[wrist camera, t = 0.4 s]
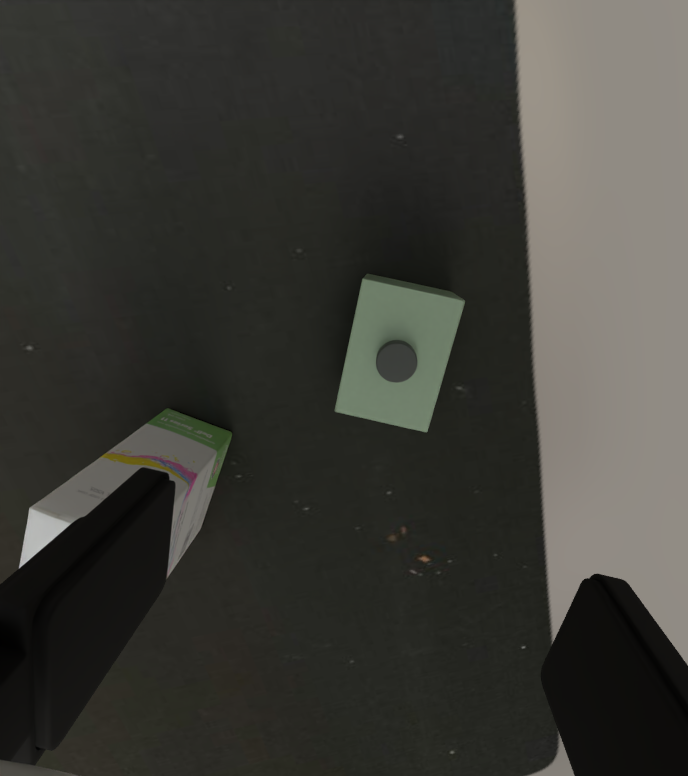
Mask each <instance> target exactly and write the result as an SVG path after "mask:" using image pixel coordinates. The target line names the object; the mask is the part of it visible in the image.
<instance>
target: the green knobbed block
mask: <svg viewBox="0 0 688 776" xmlns="http://www.w3.org/2000/svg"><path fill="white" fill-rule="evenodd" d="M464 304H465V300H463V299H462V298H460V297H459V296H457V295H456V294H454V293H453V292H451V291H446V290H441V289H437V288H432V287H428V286H423V285H418V284H414V283H409V282H405V281H400V280H395V279H391V278H386V277H382V276H377V275H372V274H366V275H365V277H364V278H363V279H362V283H361V288H360V292H359V297H358V302H357V306H356V311H355V316H354V321H353V325H352V330H351V335H350V340H349V344H348V349H347V354H346V359H345V363H344V368H343V373H342V377H341V382H340V387H339V392H338V396H337V401H336V406H335V412H338V413H343V414H347V415H352V416H356V417H361V418H365V419H369V420H374V421H378V422H383V423H387V424H391V425H396V426H400V427H405V428H409V429H413V430H418V431H422V432H427V431H428V428H429V424H430V421H431V418H432V414H433V411H434V407H435V404H436V400H437V397H438V393H439V390H440V386H441V383H442V380H443V376H444V373H445V369H446V366H447V362H448V359H449V355H450V352H451V349H452V345H453V342H454V338H455V335H456V331H457V328H458V324H459V321H460V317H461V314H462V311H463V307H464Z"/></svg>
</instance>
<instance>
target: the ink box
mask: <svg viewBox="0 0 688 776" xmlns="http://www.w3.org/2000/svg"><path fill="white" fill-rule="evenodd" d="M231 437H232V432H230V431H228V430H225V429H222V428H219V427H217V426H214V425H211V424H208V423H206V422H203V421H200V420H197V419H195V418H192V417H190V416H187V415H184V414H182V413H179V412H177V411H174V410H171V409H169V408H167V409H165V410H164V411H163V412H161V413H160V414H159V415H157V416H156V417H155V418H153V419H152V420H150V421H149V422H148V423H146V424H145V425H144V426H142V427H141V428H139V429H138V430H137V431H135V432H134V433H133V434H131V435H130V436H129V437H127V438H126V439H125V440H123V441H122V442H121V443H119V444H118V445H116V446H115V447H114V448H112V449H111V450H110V451H108V452H107V453H105V454H104V455H103V456H101V457H100V458H99V459H97V460H96V461H95V462H93V463H92V464H90V465H89V466H88V467H86V468H85V469H83V470H82V471H80V472H79V473H78V474H76V475H75V476H74V477H72V478H71V479H69V480H68V481H67V482H65V483H64V484H63V485H61V486H60V487H58V488H57V489H56V490H54V491H53V492H51V493H50V494H49V495H47V496H46V497H44V498H43V499H42V500H40V501H39V502H37V503H36V504H35V505H33V506H32V507H30V508H29V515H28V521H27V527H26V532H25V537H24V543H23V549H22V555H21V560H20V566H19V568H20V567H21V566H23V565H24V564H25V563H26V562H27V561H28V560H30V559H31V558H32V557H33V556H34V555H35V554H37V553H38V552H39V551H40V550H41V549H42V548H44V547H45V546H46V545H47V544H48V543H49V542H51V541H52V540H53V539H54V538H55V537H56V536H58V535H59V534H60V533H61V532H62V531H63V530H65V529H66V528H67V527H68V526H69V525H70V524H72V523H73V522H74V521H75V520H77V519H78V518H80V517H84V516H86V515H87V514H88V513H89V512H91V511H92V510H93V509H94V508H95V507H96V506H97V505H99V504H100V503H101V502H102V501H103V500H104V499H105V498H107V497H108V496H109V495H110V494H111V493H112V492H113V491H115V490H116V489H117V488H118V487H119V486H120V485H121V484H123V483H124V482H125V481H126V480H127V479H128V478H129V477H131V476H132V475H133V474H134V473H135V472H136V471H137V470H139V469H140V468H142V467H145V468H150V469H154V470H158V471H162V472H167V473H168V474H169V477H170V480H172V481H174V482H175V484H176V488H175V499H174V509H173V519H172V530H171V540H170V550H169V561H168V571H167V578H168V576H169V575H170V573H171V572H172V570H173V569H174V567H175V566H176V564H177V563H178V561H179V560H180V558H181V557H182V555H183V554H184V552H185V551H186V550H187V548H188V547H189V545H190V544H191V542H192V541H193V539H194V538H195V536H196V535H197V533H198V532H199V531H200V529H201V527H202V524H203V521H204V518H205V515H206V512H207V509H208V506H209V503H210V500H211V497H212V494H213V491H214V488H215V485H216V482H217V479H218V476H219V473H220V470H221V467H222V464H223V461H224V459H225V456H226V453H227V450H228V447H229V444H230V441H231ZM167 578H166V579H167Z"/></svg>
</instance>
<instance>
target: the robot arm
mask: <svg viewBox="0 0 688 776" xmlns="http://www.w3.org/2000/svg"><path fill="white" fill-rule="evenodd" d="M175 488H176V484H175V482H174V481H172V480H170V477H169V474H168V473H167V472H162V471H158V470H154V469H150V468H145V467H142V468H140V469H139V470H137V471H136V472H135V473H134V474H133V475H132V476H131V477H129V478H128V479H127V480H126V481H125V482H124V483H123V484H121V485H120V486H119V487H118V488H117V489H116V490H115V491H113V492H112V493H111V494H110V495H109V496H108V497H107V498H105V499H104V500H103V501H102V502H101V503H100V504H99V505H97V506H96V507H95V508H94V509H93V510H92V511H91V512H89V513H88V514H87V515H86V516H84V517H80V518H78V519H77V520H75V521H74V522H73V523H72V524H70V525H69V526H68V527H67V528H66V529H65V530H63V531H62V532H61V533H60V534H59V535H58V536H56V537H55V538H54V539H53V540H52V541H51V542H49V543H48V544H47V545H46V546H45V547H44V548H42V549H41V550H40V551H39V552H38V553H37V554H35V555H34V556H33V557H32V558H31V559H30V560H28V561H27V562H26V563H25V564H24V565H23V566H21V567H20V568H19V569H18V570H17V571H16V572H14V573H13V574H12V575H11V576H10V577H9V578H7V579H6V580H5V581H4V582H3V583H2V584H1V585H0V776H79V775H75V774H70V773H66V772H61V771H57V770H53V769H48V768H44V767H39V766H35V764H36V763H37V761H38V760H39V759H40V757H41V756H42V754H43V753H44V751H45V750H46V749H47V750H51V751H52V750H54V749H55V748H56V747H57V746H58V745H59V744H60V743H61V741H62V740H63V739H64V737H65V736H66V734H67V733H68V731H69V730H70V728H71V727H72V725H73V724H74V722H75V721H76V719H77V718H78V716H79V715H80V713H81V712H82V710H83V709H84V707H85V706H86V704H87V703H88V701H89V700H90V698H91V697H92V695H93V694H94V692H95V691H96V689H97V688H98V686H99V685H100V683H101V682H102V680H103V679H104V677H105V676H106V674H107V673H108V671H109V670H110V668H111V666H112V665H113V663H114V662H115V660H116V659H117V657H118V656H119V654H120V653H121V651H122V650H123V648H124V647H125V645H126V644H127V642H128V641H129V639H130V638H131V636H132V635H133V633H134V632H135V630H136V629H137V627H138V626H139V624H140V623H141V621H142V620H143V618H144V617H145V615H146V614H147V612H148V611H149V609H150V608H151V606H152V605H153V603H154V602H155V600H156V599H157V597H158V596H159V594H160V593H161V591H162V589H163V587H164V584H165V582H166V578H167V571H168V561H169V550H170V540H171V530H172V519H173V509H174V499H175ZM541 681H542V685H543V689H544V691H545V694H546V697H547V700H548V702H549V705H550V708H551V711H552V714H553V716H554V719H555V722H556V725H557V728H558V730H559V733H560V736H561V739H562V742H563V744H564V747H565V750H566V753H567V755H568V758H569V761H570V764H571V766H572V769H573V771H574V775H575V776H688V666H687V664H686V663H685V661H684V660H683V658H682V657H681V656H680V654H679V653H678V651H677V650H676V649H675V647H674V646H673V645H672V643H671V642H670V641H669V639H668V638H667V636H666V635H665V634H664V632H663V631H662V629H661V628H660V627H659V625H658V624H657V623H656V621H655V620H654V619H653V617H652V616H651V615H650V613H649V612H648V610H647V609H646V608H645V606H644V605H643V604H642V602H641V601H640V599H639V598H638V597H637V595H636V594H635V592H634V591H633V590H632V588H631V587H630V586H629V584H628V583H627V582H626V581H624V580H622V579H618V578H613V577H609V576H605V575H601V574H594V575H592V576H591V577H590V578H589V579H588V578H587V579H584V580H583V581H582V583H581V584H580V587H579V589H578V591H577V593H576V595H575V597H574V599H573V602H572V604H571V606H570V608H569V610H568V612H567V614H566V617H565V619H564V621H563V623H562V625H561V627H560V629H559V632H558V634H557V636H556V638H555V640H554V642H553V644H552V647H551V649H550V651H549V653H548V655H547V657H546V659H545V661H544V664H543V666H542V670H541Z"/></svg>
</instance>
